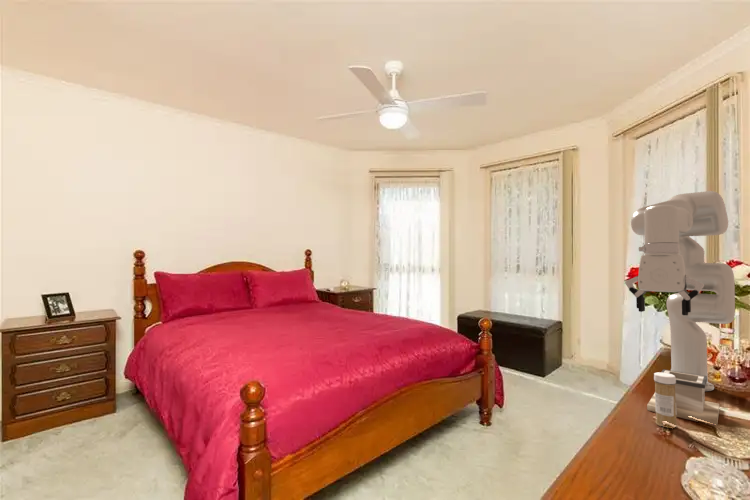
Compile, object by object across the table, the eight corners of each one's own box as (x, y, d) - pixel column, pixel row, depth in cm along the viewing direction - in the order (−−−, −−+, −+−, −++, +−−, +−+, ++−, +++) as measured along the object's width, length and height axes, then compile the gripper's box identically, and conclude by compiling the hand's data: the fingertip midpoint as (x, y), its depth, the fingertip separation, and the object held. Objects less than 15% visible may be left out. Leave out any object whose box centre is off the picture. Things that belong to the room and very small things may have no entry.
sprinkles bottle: (680, 426, 99) (678, 374, 99) (673, 431, 96) (671, 378, 96) (659, 420, 102) (658, 370, 103) (652, 424, 100) (650, 373, 100)
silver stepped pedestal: (655, 396, 120) (654, 366, 120) (719, 408, 110) (718, 376, 110) (647, 410, 109) (646, 377, 109) (717, 425, 99) (716, 389, 99)
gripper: (620, 250, 108) (621, 310, 107) (699, 248, 95) (701, 317, 94) (629, 251, 113) (630, 309, 112) (705, 250, 99) (707, 315, 99)
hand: (662, 313), depth 103 cm, fingers open, 9 cm apart
